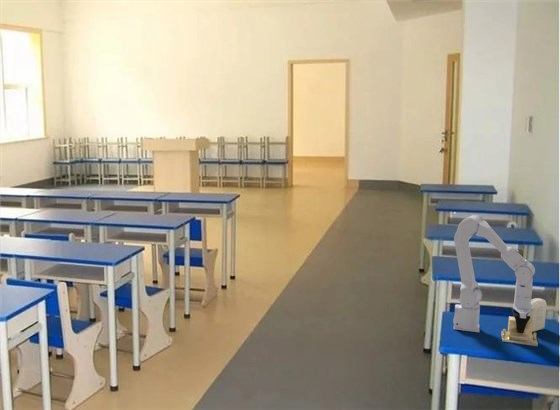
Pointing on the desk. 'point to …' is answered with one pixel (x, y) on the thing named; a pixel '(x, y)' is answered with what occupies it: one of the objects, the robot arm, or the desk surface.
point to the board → (513, 328)
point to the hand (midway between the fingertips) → (519, 330)
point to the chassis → (518, 339)
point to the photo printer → (538, 313)
